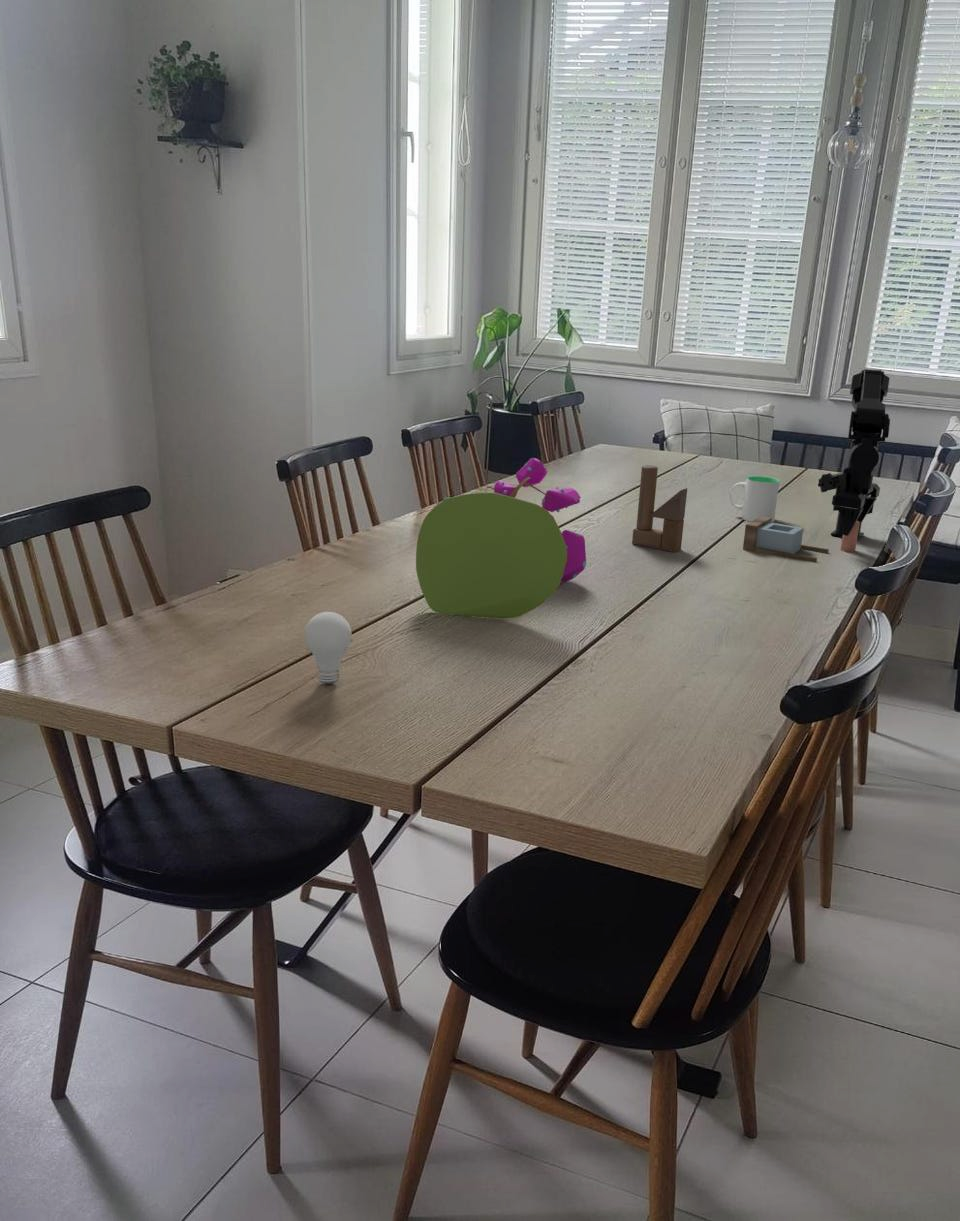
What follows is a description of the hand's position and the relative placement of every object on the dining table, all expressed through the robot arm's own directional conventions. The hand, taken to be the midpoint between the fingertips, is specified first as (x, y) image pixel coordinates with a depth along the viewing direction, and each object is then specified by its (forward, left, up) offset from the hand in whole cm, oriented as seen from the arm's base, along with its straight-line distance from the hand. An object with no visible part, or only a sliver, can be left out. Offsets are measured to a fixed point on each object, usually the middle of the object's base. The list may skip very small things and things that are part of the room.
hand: (850, 531), depth 230 cm
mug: (-17, -29, -5) cm, 34 cm away
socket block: (+11, -13, -4) cm, 17 cm away
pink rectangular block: (0, 0, -5) cm, 5 cm away
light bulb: (+133, -41, -5) cm, 139 cm away
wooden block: (+27, -36, -5) cm, 45 cm away
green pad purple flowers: (+76, -45, -5) cm, 89 cm away
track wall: (+11, -11, -5) cm, 16 cm away
